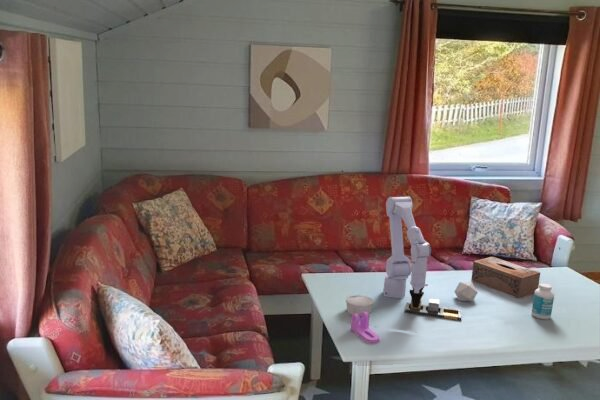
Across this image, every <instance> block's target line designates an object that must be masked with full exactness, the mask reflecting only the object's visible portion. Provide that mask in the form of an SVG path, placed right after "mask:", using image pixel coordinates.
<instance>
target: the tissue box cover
mask: <svg viewBox="0 0 600 400" xmlns="http://www.w3.org/2000/svg"><path fill="white" fill-rule="evenodd" d="M471 271H472V272H471V278H470V280H471V281H470V282H472V281H473V282H474V283H477V284H479V285H482V286H484V287H487V288H490V289H492V290H495V291H497V292H501V293H504V294H506V295H508V296H511V297H513V298H517V299H522V298H526V297H528V296H531V295H534V293H535V290H536V289H538V288H539V284H540V280H541V279H540V278H541V272H540V271H538V270H534V269H531V268H528V267H525V266H522V265H519V264H516V263H513V262H509V261H507V260H503V259H501V258H497V257H495V256H489V257H486V258H481V259H477V260H473V262H472V270H471Z"/></svg>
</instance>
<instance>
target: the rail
mask: <svg viewBox="0 0 600 400" xmlns="http://www.w3.org/2000/svg"><path fill="white" fill-rule="evenodd" d="M428 305H429V304H428ZM428 305H427V304H422V303H421V310H420V311H418V310H411V309H410V307H411V302H405V309H404V313H405V314H412V315H418V316H419V315H420V316H424V317H425V316H427V317H432V318H440V319H448V320H453V321H461V322H462V309H456V308H451V307H441V306H439V309H438V313H433V312H428Z"/></svg>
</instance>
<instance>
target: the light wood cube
mask: <svg viewBox="0 0 600 400" xmlns="http://www.w3.org/2000/svg"><path fill="white" fill-rule="evenodd" d="M422 301H423V300H422V298H421V300H420V303H419V307H418V308H415V307H413V305H412V298H410V303H411V307H410V309H411V310H418V311H420V310H421V304H422Z"/></svg>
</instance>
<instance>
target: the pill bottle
mask: <svg viewBox="0 0 600 400" xmlns="http://www.w3.org/2000/svg"><path fill="white" fill-rule="evenodd" d="M552 288H553V287H552V285H551V284H548V283H543V282H541V283H539V286H538V289H536V290H535V293H534V294H533V300H532V305H531V306H532V309H531V315H532V316H533V317H535V318H536V319H539V318H540V320H549V319H551V317H552V312H553V305H554V299H555V293H554V291H552Z"/></svg>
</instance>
